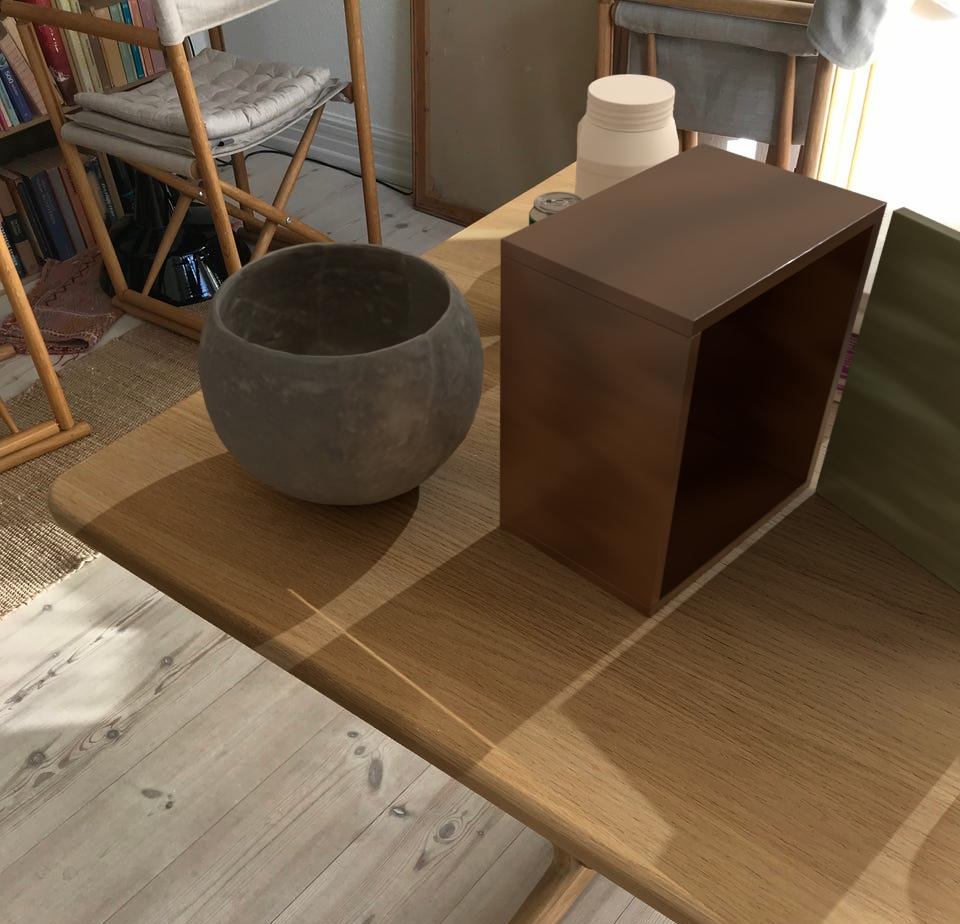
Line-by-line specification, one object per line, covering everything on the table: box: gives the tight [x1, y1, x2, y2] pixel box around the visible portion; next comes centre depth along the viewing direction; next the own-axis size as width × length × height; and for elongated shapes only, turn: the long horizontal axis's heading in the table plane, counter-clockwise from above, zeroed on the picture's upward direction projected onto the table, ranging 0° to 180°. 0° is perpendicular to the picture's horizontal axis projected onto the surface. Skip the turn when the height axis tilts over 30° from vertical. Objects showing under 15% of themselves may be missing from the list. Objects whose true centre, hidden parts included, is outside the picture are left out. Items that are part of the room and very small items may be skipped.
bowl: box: [197, 241, 485, 506], centre depth 77 cm, size 20×20×15 cm
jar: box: [574, 73, 680, 200], centre depth 104 cm, size 12×10×15 cm
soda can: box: [528, 191, 583, 226], centre depth 92 cm, size 5×5×12 cm
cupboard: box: [499, 142, 888, 618], centre depth 71 cm, size 14×20×22 cm
